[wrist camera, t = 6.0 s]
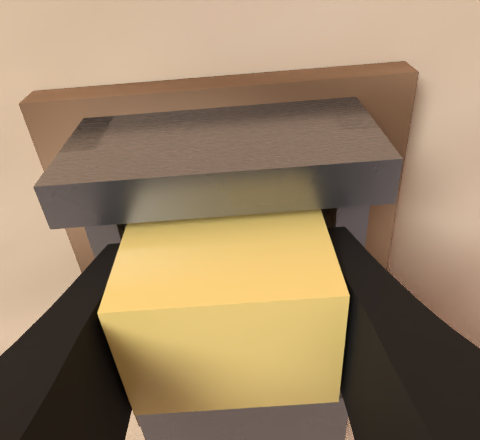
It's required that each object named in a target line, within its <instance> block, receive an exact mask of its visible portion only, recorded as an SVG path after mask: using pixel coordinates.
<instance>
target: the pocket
mask: <svg viewBox="0 0 480 440" xmlns="http://www.w3.org/2000/svg"><path fill="white" fill-rule="evenodd" d="M402 162H403V158H402V157H401V155H400V154H399V153H398V151H397V150H396V149H395V147H394V146H393V145H392V143H391V142H390V141H389V139H388V138H387V137H386V136H385V134H384V133H383V132H382V130H381V129H380V128H379V126H378V125H377V124H376V122H375V121H374V120H373V118H372V117H371V116H370V114H369V113H368V112H367V110H366V109H365V108H364V106H363V105H362V104H361V102H360V101H359V100H358V98H357V97H345V98H333V99H320V100H307V101H295V102H282V103H269V104H257V105H244V106H231V107H218V108H206V109H193V110H180V111H168V112H155V113H142V114H130V115H117V116H104V117H92V118H83V119H82V121H81V122H80V124H79V125H78V126H77V128H76V129H75V130H74V132H73V133H72V135H71V136H70V137H69V139H68V140H67V141H66V143H65V144H64V146H63V147H62V148H61V150H60V151H59V152H58V154H57V155H56V157H55V158H54V159H53V161H52V162H51V163H50V165H49V166H48V168H47V169H46V170H45V172H44V173H43V174H42V176H41V177H40V179H39V180H38V181H37V183H36V184H35V185H34V190H35V192H36V195H37V197H38V200H39V202H40V205H41V207H42V210H43V212H44V215H45V217H46V220H47V222H48V225H49V227H50V229H61V228H75V227H84V228H85V231H86V234H87V237H88V240H89V243H90V246H91V249H92V252H93V255H94V257H95V258H96V257H97V256H98V254H99V253H100V252H101V251H102V250H103V249H104V248H105V247H106V246H107V245H108V244H114V243H121V240H122V237H123V234H124V231H125V228H126V225H127V224H129V223H142V222H156V221H169V220H182V219H196V218H209V217H223V216H236V215H250V214H263V213H277V212H290V211H304V210H317V209H321V212H322V215H323V218H324V221H325V224H326V227H327V228H332V227H346V228H347V229H348V230H349V231H350V232H351V233H352V234H353V235H354V236H355V238H356V239H357V240H358V241H359V242H360V243H361V244H362V245H363V246H364V247H365V243H366V235H367V226H368V218H369V210H370V206H371V205H384V204H396V199H397V193H398V187H399V180H400V174H401V168H402Z"/></svg>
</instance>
